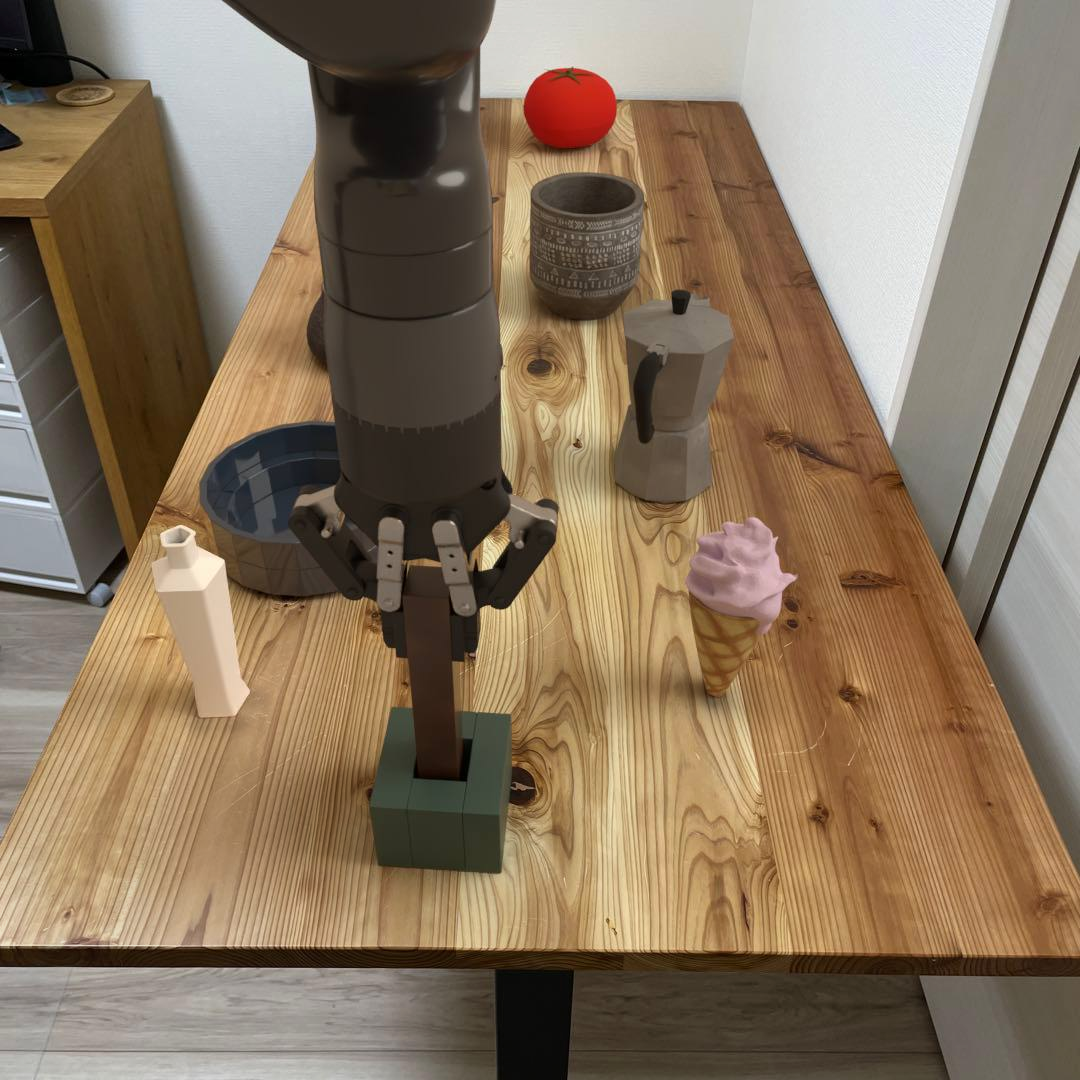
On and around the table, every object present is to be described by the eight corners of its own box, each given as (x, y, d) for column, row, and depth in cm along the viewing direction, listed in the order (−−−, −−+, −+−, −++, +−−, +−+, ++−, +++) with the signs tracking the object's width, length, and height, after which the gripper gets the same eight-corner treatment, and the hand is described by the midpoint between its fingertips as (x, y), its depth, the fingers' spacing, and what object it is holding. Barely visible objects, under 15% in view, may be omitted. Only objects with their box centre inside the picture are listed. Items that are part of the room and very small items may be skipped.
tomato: (576, 121, 167) (578, 50, 160) (632, 145, 159) (637, 71, 153) (504, 141, 160) (503, 68, 153) (559, 167, 152) (561, 91, 146)
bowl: (186, 595, 84) (170, 536, 80) (244, 472, 96) (232, 416, 92) (391, 607, 83) (385, 548, 79) (423, 481, 95) (419, 425, 91)
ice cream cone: (779, 682, 77) (816, 522, 68) (746, 740, 73) (781, 578, 63) (695, 648, 80) (719, 488, 70) (658, 702, 76) (679, 540, 66)
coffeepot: (637, 424, 103) (652, 247, 91) (732, 448, 100) (760, 269, 88) (576, 515, 92) (584, 328, 80) (681, 545, 89) (705, 355, 77)
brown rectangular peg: (419, 789, 64) (401, 595, 54) (425, 758, 66) (409, 564, 56) (459, 792, 64) (448, 598, 54) (463, 760, 66) (455, 567, 56)
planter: (515, 319, 118) (514, 207, 110) (547, 271, 127) (548, 165, 119) (622, 336, 115) (629, 223, 107) (647, 286, 124) (656, 179, 116)
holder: (377, 865, 65) (368, 806, 62) (398, 766, 71) (391, 706, 67) (501, 874, 65) (499, 815, 61) (512, 773, 71) (511, 713, 67)
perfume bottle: (206, 735, 73) (158, 572, 63) (178, 697, 76) (127, 534, 66) (266, 703, 75) (229, 540, 66) (237, 667, 78) (197, 505, 68)
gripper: (235, 413, 44) (290, 692, 56) (569, 430, 44) (557, 709, 55) (281, 325, 50) (323, 594, 61) (576, 339, 50) (564, 609, 61)
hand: (433, 647), depth 58 cm, fingers closed on brown rectangular peg, 2 cm apart
